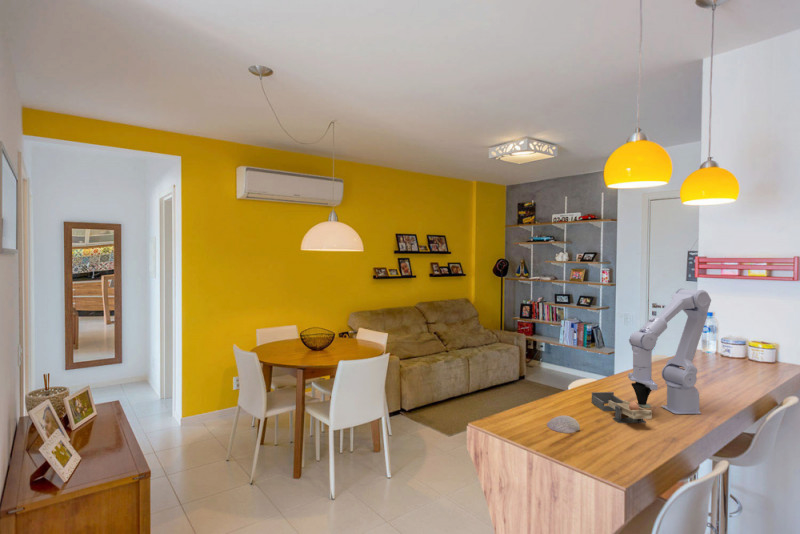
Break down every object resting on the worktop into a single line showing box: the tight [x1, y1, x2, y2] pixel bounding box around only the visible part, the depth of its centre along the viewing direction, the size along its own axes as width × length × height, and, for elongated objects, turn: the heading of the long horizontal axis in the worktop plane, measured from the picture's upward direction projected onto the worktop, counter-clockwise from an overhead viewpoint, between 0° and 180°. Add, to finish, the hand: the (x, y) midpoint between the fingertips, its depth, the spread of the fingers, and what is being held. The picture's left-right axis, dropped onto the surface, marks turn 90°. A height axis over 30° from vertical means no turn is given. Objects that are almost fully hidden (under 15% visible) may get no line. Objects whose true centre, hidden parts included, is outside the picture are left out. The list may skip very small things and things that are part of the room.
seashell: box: [546, 415, 581, 434], centre depth 141 cm, size 10×6×10 cm
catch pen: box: [591, 391, 623, 412], centre depth 160 cm, size 8×9×4 cm
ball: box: [629, 401, 639, 410], centre depth 143 cm, size 3×3×3 cm
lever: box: [607, 399, 653, 420], centre depth 146 cm, size 13×16×2 cm
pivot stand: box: [612, 406, 647, 424], centre depth 146 cm, size 9×4×5 cm, turn 91°
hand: (642, 404), depth 152 cm, fingers closed, pressing on lever
